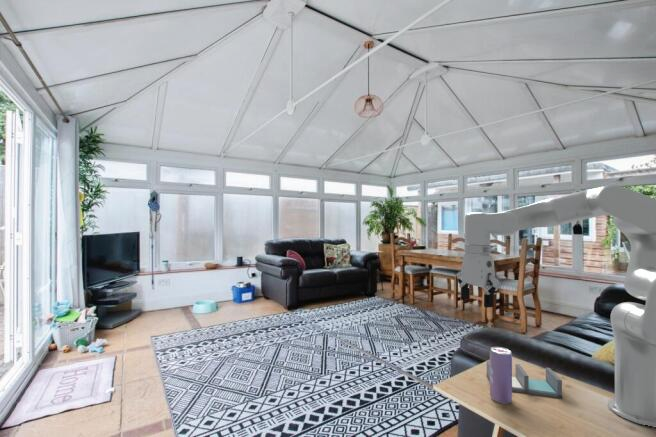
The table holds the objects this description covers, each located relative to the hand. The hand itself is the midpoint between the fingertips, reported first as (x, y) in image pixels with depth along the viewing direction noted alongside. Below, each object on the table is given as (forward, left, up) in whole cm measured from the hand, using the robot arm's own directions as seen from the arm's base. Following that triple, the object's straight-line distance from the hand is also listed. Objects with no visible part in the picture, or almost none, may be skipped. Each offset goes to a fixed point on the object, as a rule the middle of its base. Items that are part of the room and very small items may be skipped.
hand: (476, 303), depth 100 cm
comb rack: (-16, -9, -28) cm, 34 cm away
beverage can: (-7, +2, -29) cm, 29 cm away
